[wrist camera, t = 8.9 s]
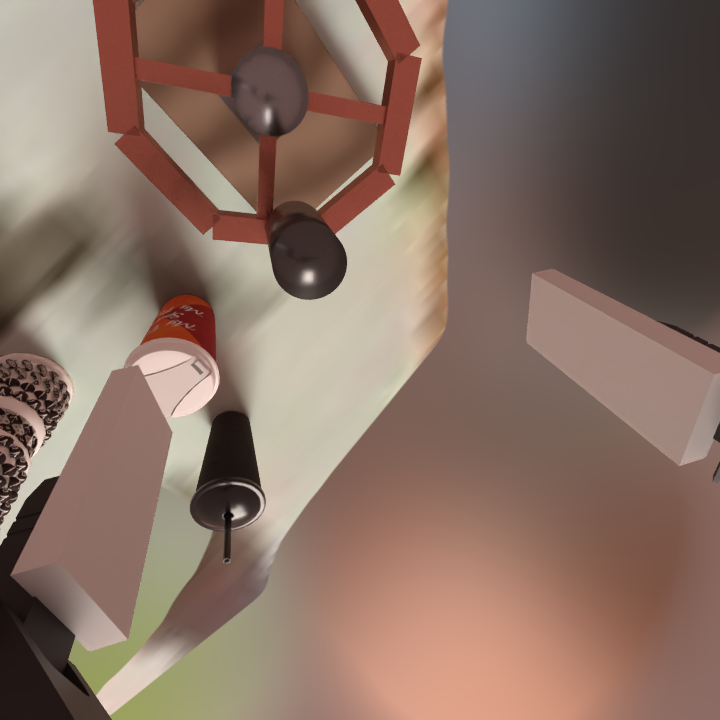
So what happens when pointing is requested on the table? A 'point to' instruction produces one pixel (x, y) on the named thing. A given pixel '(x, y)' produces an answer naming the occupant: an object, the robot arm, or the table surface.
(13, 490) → the decorative candle
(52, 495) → the robot arm
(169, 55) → the brown block
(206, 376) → the paper cup
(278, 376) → the table surface
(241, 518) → the drinking cup
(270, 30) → the handwheel
